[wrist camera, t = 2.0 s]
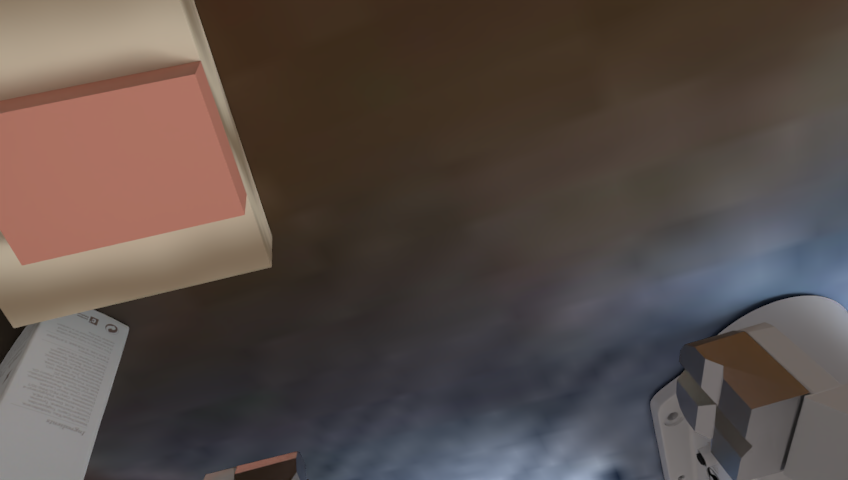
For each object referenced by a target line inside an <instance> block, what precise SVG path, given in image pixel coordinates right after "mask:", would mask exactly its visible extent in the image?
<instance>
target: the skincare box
mask: <svg viewBox="0 0 848 480" xmlns="http://www.w3.org/2000/svg"><path fill="white" fill-rule="evenodd" d="M128 332H129V327H128V326H126V325H125V324H123V323H121V322H119V321H117V320H115V319H113V318H111V317H109V316H107V315H105V314H103V313H101V312H98V311H96V310H94V309H93V310H89V311H85V312H80V313H76V314H72V315H68V316H64V317H59V318H55V319H51V320H47V321H43V322H38V323H34V324H30V325H27V326H26V327H25V329H24V330H23V331H22V333H21V334H20V336H19V337H18V338H17V340H16V341H15V343H14V344H13V346H12V347H11V349H10V350H9V352H8V353H7V355H6V356H5V358H4V359H3V361H2V363H1V364H0V480H84V477H85V473H86V470H87V466H88V463H89V460H90V456H91V453H92V450H93V446H94V443H95V440H96V436H97V433H98V430H99V427H100V423H101V420H102V417H103V414H104V410H105V407H106V404H107V401H108V398H109V394H110V391H111V388H112V385H113V381H114V378H115V375H116V372H117V369H118V366H119V362H120V359H121V356H122V353H123V349H124V346H125V342H126V339H127V336H128Z"/></svg>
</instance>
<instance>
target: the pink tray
mask: <svg viewBox="0 0 848 480" xmlns="http://www.w3.org/2000/svg"><path fill="white" fill-rule="evenodd" d="M246 197H247V194H246V191H245V188H244V185H243V182H242V179H241V176H240V173H239V170H238V167H237V165H236V162H235V159H234V156H233V153H232V150H231V147H230V144H229V141H228V138H227V135H226V133H225V130H224V127H223V124H222V121H221V118H220V115H219V112H218V109H217V106H216V103H215V101H214V98H213V95H212V92H211V89H210V86H209V83H208V80H207V77H206V74H205V71H204V69H203V66H202V63H201V61H197V62H192V63H187V64H182V65H177V66H172V67H167V68H162V69H157V70H152V71H147V72H142V73H137V74H132V75H127V76H122V77H117V78H112V79H107V80H102V81H97V82H92V83H87V84H82V85H77V86H72V87H67V88H62V89H57V90H52V91H47V92H42V93H37V94H32V95H27V96H22V97H17V98H12V99H7V100H2V101H0V231H1V232H2V234H3V236H4V237H5V239H6V240H7V242H8V244H9V245H10V247H11V249H12V250H13V252H14V253H15V255H16V257H17V258H18V260H19V262H20V263H21V265H22V266H23V265H27V264H32V263H36V262H40V261H45V260H49V259H54V258H58V257H62V256H67V255H71V254H75V253H80V252H84V251H89V250H93V249H97V248H102V247H106V246H111V245H115V244H119V243H124V242H128V241H133V240H137V239H141V238H146V237H150V236H155V235H159V234H163V233H168V232H172V231H176V230H181V229H185V228H190V227H194V226H198V225H203V224H207V223H212V222H216V221H220V220H225V219H229V218H234V217H238V216H242V215H245V207H246Z"/></svg>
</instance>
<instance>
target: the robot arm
mask: <svg viewBox="0 0 848 480" xmlns="http://www.w3.org/2000/svg"><path fill="white" fill-rule="evenodd" d="M679 362H680V363H681V364H682V366H683V367H684V368H685V370H684V371H683V373H682V374H681V375H680V376H678V377H677V378H675V379H674V380H673V381H671V382H670V383H669V384H667V385H666V386H665V387H663V388H662V389H661V390H660V391H659V392H657V393H656V394H655V396H654V397H653V398H652V400H651V403H650V407H651V413H652V418H653V423H654V428H655V433H656V438H657V443H658V448H659V453H660V458H661V463H662V469H663V474H664V479H665V480H848V312H847V311H846V309H845V308H844V307H843V306H842V305H840V304H839V303H837V302H836V301H834V300H832V299H829V298H826V297H821V296H797V297H791V298H786V299H782V300H779V301H775V302H773V303H770V304H767V305H765V306H762V307H760V308H758V309H756V310H754V311H752V312H750V313H748V314H746V315H745V316H743V317H741V318H740V319H738V320H737V321H735V322H734V323H732V324H731V325H729V326H728V327H727V328H725V329H724V330H723V331H721V332H720V333H719V334H718V335H716V336H713V337H709V338H706V339H702V340H699V341H695V342H692V343H689V344H685V345H684V346H683V348H682V349H681V350H680V357H679ZM204 480H308V479H307V477H306V464H305V462H304V459H303V457H302V455H301V453H300V452H299V451H297V452H293V453H288V454H284V455H280V456H276V457H272V458H268V459H264V460H260V461H256V462H252V463H248V464H244V465H240V466H237V467H233V468H229V469H225V470H221V471H217V472H213V473H210V474H206V475H205V477H204Z"/></svg>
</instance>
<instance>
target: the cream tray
mask: <svg viewBox="0 0 848 480" xmlns="http://www.w3.org/2000/svg"><path fill="white" fill-rule="evenodd" d="M197 61H201V63H202V66H203V69H204V71H205V74H206V77H207V80H208V83H209V86H210V89H211V92H212V95H213V98H214V101H215V103H216V106H217V109H218V112H219V115H220V118H221V121H222V124H223V127H224V130H225V133H226V135H227V138H228V141H229V144H230V147H231V150H232V153H233V156H234V159H235V162H236V165H237V167H238V170H239V173H240V176H241V179H242V182H243V185H244V188H245V191H246V194H247V197H246V207H245V215H242V216H238V217H234V218H229V219H225V220H220V221H216V222H212V223H207V224H203V225H198V226H194V227H190V228H185V229H181V230H176V231H172V232H168V233H163V234H159V235H155V236H150V237H146V238H141V239H137V240H133V241H128V242H124V243H119V244H115V245H111V246H106V247H102V248H97V249H93V250H89V251H84V252H80V253H75V254H71V255H67V256H62V257H58V258H54V259H49V260H45V261H40V262H36V263H32V264H27V265H23V266H22V265H21V263H20V262H19V260H18V258H17V257H16V255H15V253H14V252H13V250H12V249H11V247H10V245H9V244H8V242H7V240H6V239H5V237H4V236H3V234H2V232H1V231H0V309H1V310H2V312H3V313H4V315H5V316H6V318H7V319H8V321H9V322H10V324H11V325H12V327H13V328H17V327H22V326H26V325H30V324H34V323H38V322H43V321H47V320H51V319H55V318H59V317H64V316H68V315H72V314H76V313H80V312H85V311H89V310H93V309H97V308H101V307H106V306H110V305H114V304H118V303H122V302H127V301H131V300H135V299H139V298H143V297H148V296H152V295H156V294H160V293H164V292H169V291H173V290H177V289H181V288H186V287H190V286H194V285H198V284H202V283H207V282H211V281H215V280H219V279H223V278H228V277H232V276H236V275H240V274H244V273H249V272H253V271H257V270H261V269H265V268H270V267H272V235H271V231H270V228H269V225H268V222H267V219H266V216H265V213H264V210H263V207H262V204H261V201H260V198H259V195H258V192H257V189H256V186H255V183H254V180H253V177H252V174H251V171H250V168H249V165H248V162H247V159H246V156H245V153H244V150H243V147H242V144H241V141H240V138H239V135H238V132H237V129H236V126H235V123H234V120H233V117H232V114H231V111H230V108H229V105H228V102H227V99H226V96H225V93H224V90H223V87H222V84H221V81H220V78H219V75H218V72H217V69H216V66H215V63H214V60H213V57H212V54H211V51H210V48H209V45H208V42H207V39H206V36H205V33H204V30H203V27H202V24H201V21H200V18H199V15H198V12H197V9H196V6H195V3H194V0H0V101H2V100H7V99H12V98H17V97H22V96H27V95H32V94H37V93H42V92H47V91H52V90H57V89H62V88H67V87H72V86H77V85H82V84H87V83H92V82H97V81H102V80H107V79H112V78H117V77H122V76H127V75H132V74H137V73H142V72H147V71H152V70H157V69H162V68H167V67H172V66H177V65H182V64H187V63H192V62H197Z"/></svg>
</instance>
